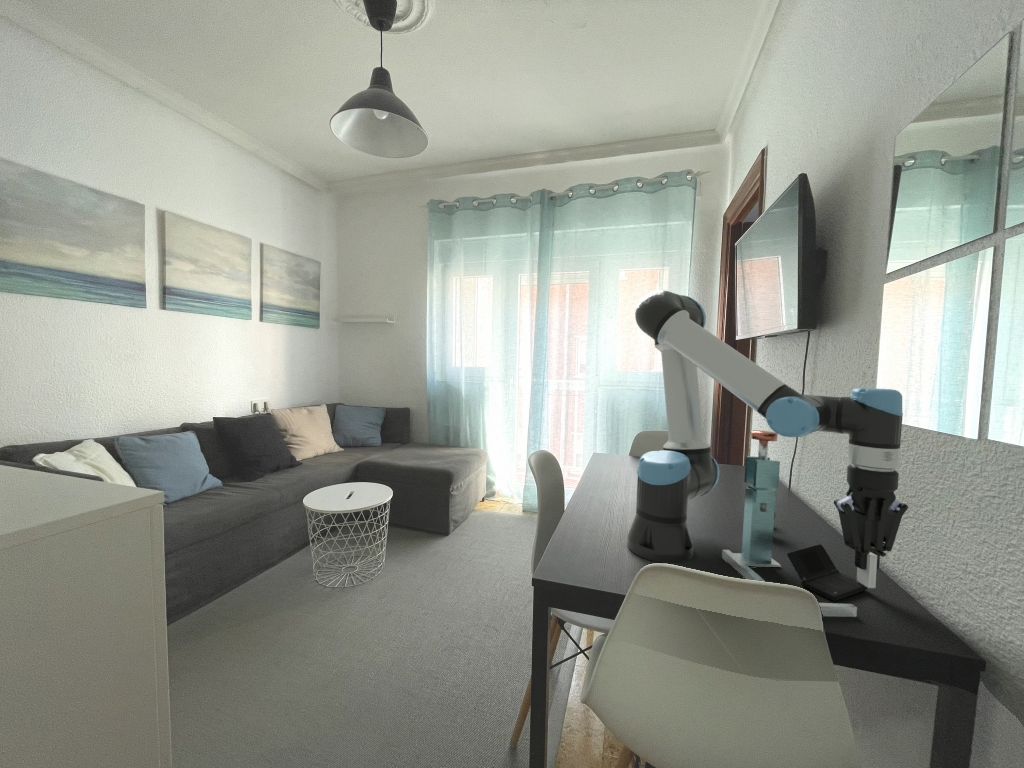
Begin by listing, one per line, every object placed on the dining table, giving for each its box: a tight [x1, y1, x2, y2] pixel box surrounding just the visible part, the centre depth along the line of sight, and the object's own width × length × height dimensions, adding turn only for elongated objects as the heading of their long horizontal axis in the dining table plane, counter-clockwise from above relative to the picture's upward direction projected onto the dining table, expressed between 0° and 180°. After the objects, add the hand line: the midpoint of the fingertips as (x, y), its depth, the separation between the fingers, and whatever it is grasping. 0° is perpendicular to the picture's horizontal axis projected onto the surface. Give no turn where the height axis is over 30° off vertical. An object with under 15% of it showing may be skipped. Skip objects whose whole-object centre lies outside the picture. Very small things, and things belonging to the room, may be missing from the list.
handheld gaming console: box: [786, 543, 869, 602], centre depth 83 cm, size 11×10×4 cm
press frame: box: [721, 455, 858, 618], centre depth 83 cm, size 13×22×24 cm, turn 179°
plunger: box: [750, 429, 778, 460], centre depth 91 cm, size 5×5×8 cm
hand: (865, 584), depth 80 cm, fingers closed
